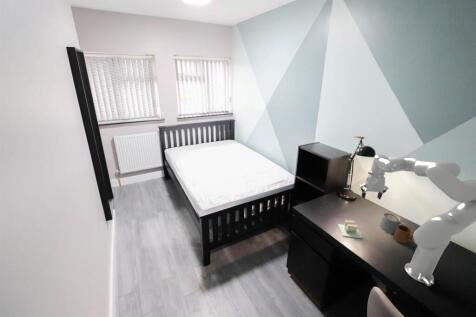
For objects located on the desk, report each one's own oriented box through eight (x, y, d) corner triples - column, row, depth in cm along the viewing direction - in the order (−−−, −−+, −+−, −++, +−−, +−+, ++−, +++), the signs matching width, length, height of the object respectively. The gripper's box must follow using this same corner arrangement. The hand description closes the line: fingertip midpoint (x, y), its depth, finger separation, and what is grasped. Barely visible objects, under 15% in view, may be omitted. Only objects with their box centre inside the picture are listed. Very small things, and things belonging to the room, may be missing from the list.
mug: (416, 247, 138) (421, 235, 135) (408, 250, 136) (413, 238, 132) (398, 234, 149) (402, 223, 145) (390, 237, 146) (394, 225, 143)
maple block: (355, 233, 147) (357, 226, 145) (346, 232, 148) (348, 225, 146) (352, 228, 153) (354, 221, 151) (343, 227, 154) (345, 220, 151)
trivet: (361, 238, 145) (361, 237, 144) (342, 236, 146) (342, 235, 146) (355, 226, 156) (355, 225, 155) (337, 224, 157) (337, 223, 157)
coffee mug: (377, 228, 155) (381, 216, 151) (382, 222, 161) (385, 210, 158) (400, 238, 146) (404, 225, 142) (403, 231, 152) (408, 219, 149)
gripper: (365, 175, 134) (359, 199, 140) (395, 177, 132) (387, 202, 138) (360, 171, 141) (354, 194, 147) (388, 172, 139) (382, 196, 145)
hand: (370, 197), depth 143 cm, fingers open, 9 cm apart
